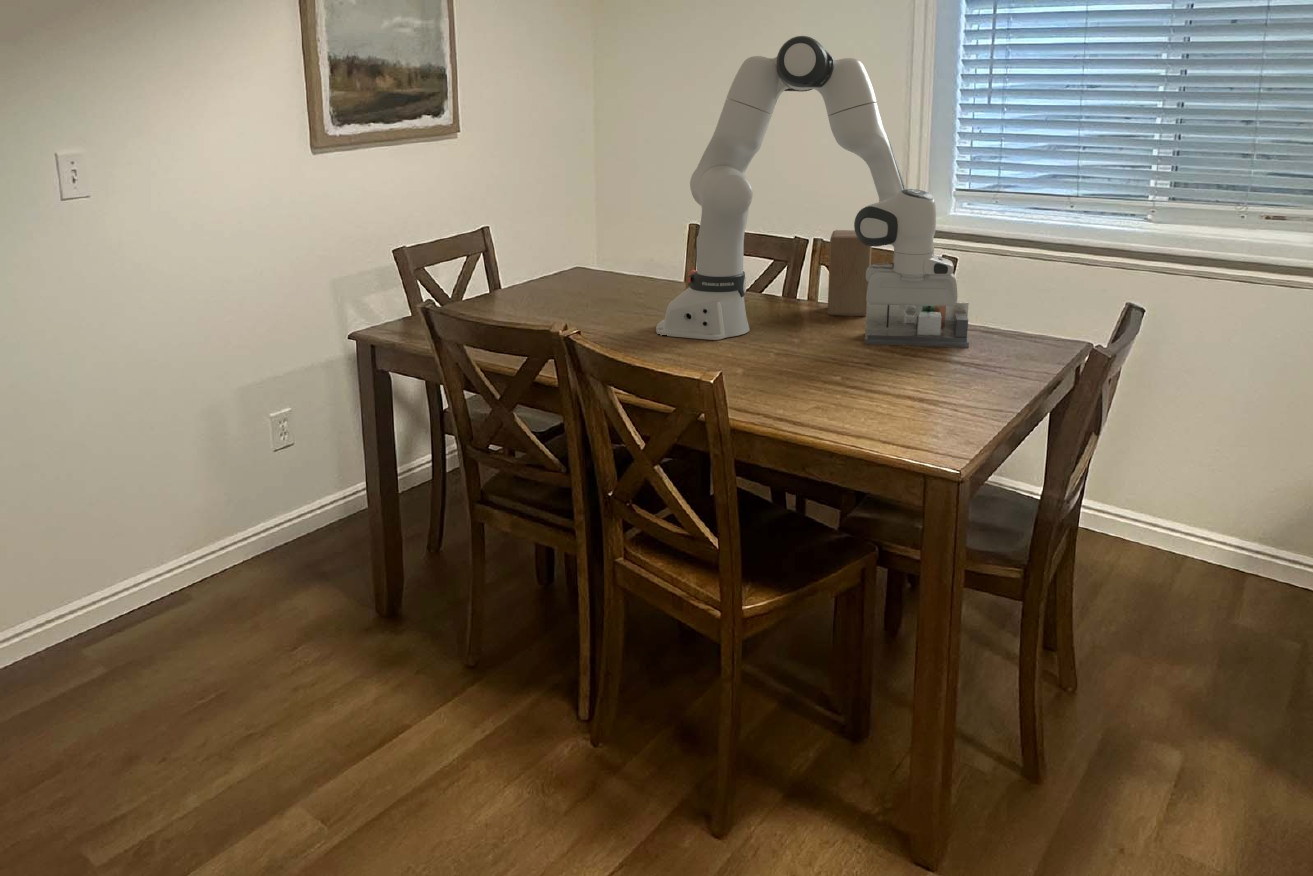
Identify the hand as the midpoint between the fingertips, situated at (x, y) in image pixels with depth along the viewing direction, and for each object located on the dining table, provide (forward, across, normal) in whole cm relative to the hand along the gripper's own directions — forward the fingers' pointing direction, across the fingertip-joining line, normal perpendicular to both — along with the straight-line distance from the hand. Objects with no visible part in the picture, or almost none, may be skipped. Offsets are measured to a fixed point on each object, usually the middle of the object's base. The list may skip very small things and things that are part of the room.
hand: (909, 323), depth 257 cm
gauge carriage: (+3, +4, +1) cm, 5 cm away
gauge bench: (+4, +2, +2) cm, 5 cm away
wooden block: (+4, -14, +27) cm, 31 cm away
